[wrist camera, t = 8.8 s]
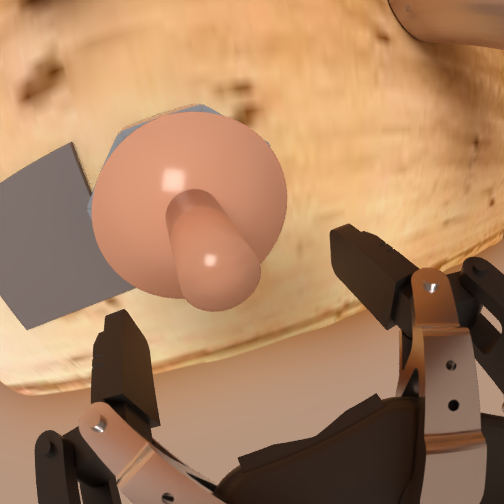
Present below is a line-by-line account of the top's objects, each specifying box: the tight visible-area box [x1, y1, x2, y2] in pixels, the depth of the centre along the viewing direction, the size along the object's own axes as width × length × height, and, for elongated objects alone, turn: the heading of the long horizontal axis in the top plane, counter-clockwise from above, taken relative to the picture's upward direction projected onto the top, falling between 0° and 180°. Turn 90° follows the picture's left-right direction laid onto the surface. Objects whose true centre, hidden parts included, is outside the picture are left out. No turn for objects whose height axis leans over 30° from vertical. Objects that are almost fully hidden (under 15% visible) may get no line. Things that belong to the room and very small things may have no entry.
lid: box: [92, 111, 287, 311], centre depth 13 cm, size 11×11×7 cm
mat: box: [0, 142, 135, 330], centre depth 17 cm, size 12×12×1 cm
